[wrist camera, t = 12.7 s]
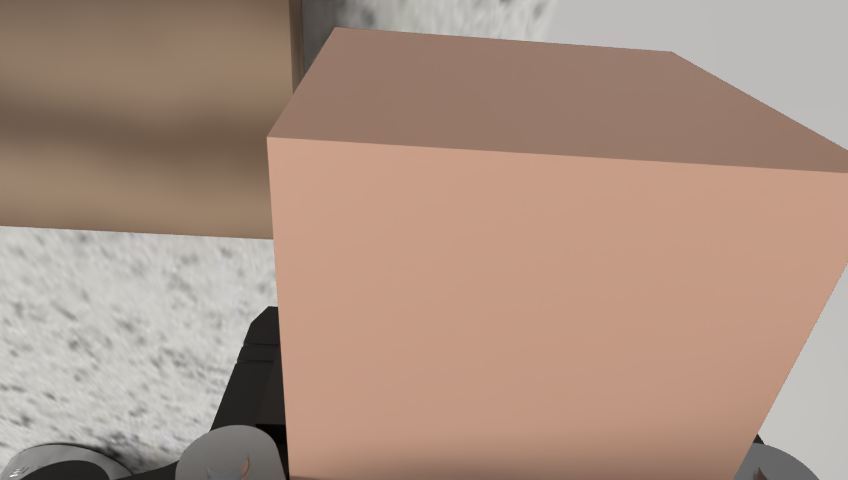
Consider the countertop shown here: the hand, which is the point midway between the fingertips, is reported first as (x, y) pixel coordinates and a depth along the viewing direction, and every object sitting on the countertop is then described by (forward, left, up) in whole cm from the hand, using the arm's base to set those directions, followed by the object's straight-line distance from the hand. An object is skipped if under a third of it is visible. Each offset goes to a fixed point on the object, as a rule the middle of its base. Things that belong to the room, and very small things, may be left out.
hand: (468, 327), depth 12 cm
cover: (0, 0, 0) cm, 0 cm away
